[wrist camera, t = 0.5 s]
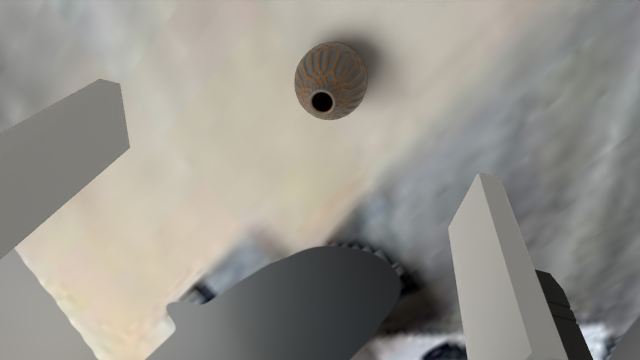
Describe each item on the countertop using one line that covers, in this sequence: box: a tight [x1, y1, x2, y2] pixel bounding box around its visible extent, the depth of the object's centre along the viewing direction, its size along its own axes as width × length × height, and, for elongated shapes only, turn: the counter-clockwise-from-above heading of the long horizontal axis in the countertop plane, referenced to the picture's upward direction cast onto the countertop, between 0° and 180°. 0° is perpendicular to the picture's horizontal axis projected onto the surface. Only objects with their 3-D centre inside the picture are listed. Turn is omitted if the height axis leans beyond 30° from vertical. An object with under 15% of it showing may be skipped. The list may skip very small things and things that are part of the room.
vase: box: [295, 42, 367, 120], centre depth 35 cm, size 7×7×9 cm
